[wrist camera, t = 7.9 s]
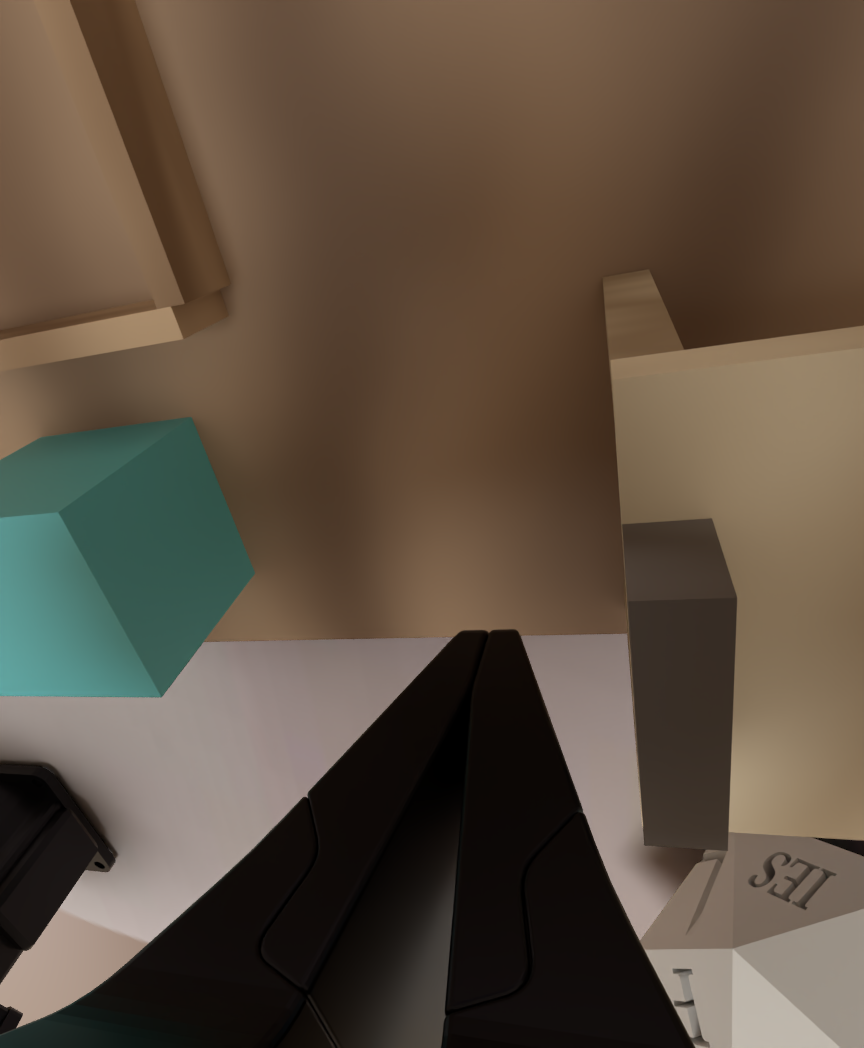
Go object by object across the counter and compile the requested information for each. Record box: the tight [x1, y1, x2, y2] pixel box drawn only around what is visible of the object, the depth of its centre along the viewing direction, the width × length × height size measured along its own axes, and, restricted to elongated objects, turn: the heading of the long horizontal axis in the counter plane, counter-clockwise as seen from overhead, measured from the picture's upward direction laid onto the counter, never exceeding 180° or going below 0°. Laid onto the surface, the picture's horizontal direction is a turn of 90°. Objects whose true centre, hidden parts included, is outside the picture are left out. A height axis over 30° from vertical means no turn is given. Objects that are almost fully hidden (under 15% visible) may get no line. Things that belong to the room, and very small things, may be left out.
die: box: [640, 832, 864, 1048], centre depth 16 cm, size 8×9×10 cm
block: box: [0, 417, 255, 697], centre depth 15 cm, size 4×4×4 cm
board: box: [0, 0, 864, 642], centre depth 13 cm, size 26×17×2 cm, turn 102°
